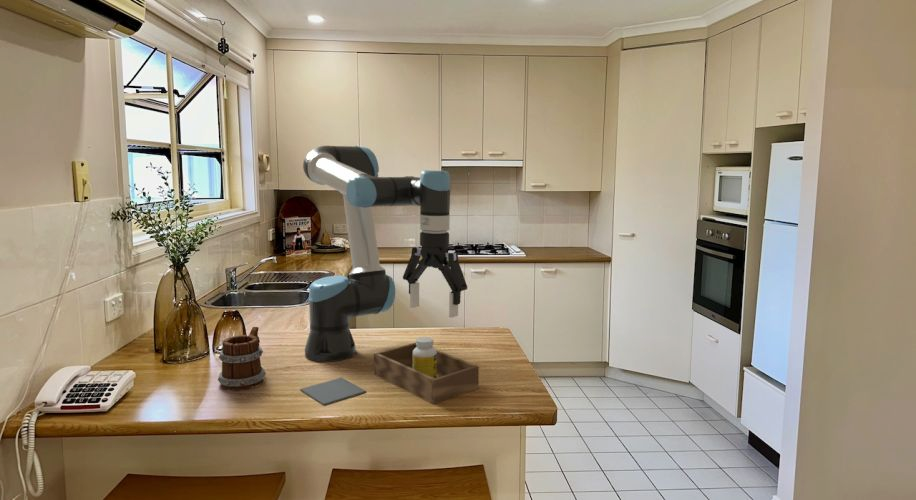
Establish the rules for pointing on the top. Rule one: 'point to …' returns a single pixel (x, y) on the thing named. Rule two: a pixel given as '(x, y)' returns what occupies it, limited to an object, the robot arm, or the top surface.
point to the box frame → (434, 390)
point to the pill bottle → (425, 357)
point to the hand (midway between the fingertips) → (433, 311)
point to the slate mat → (332, 391)
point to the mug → (241, 362)
